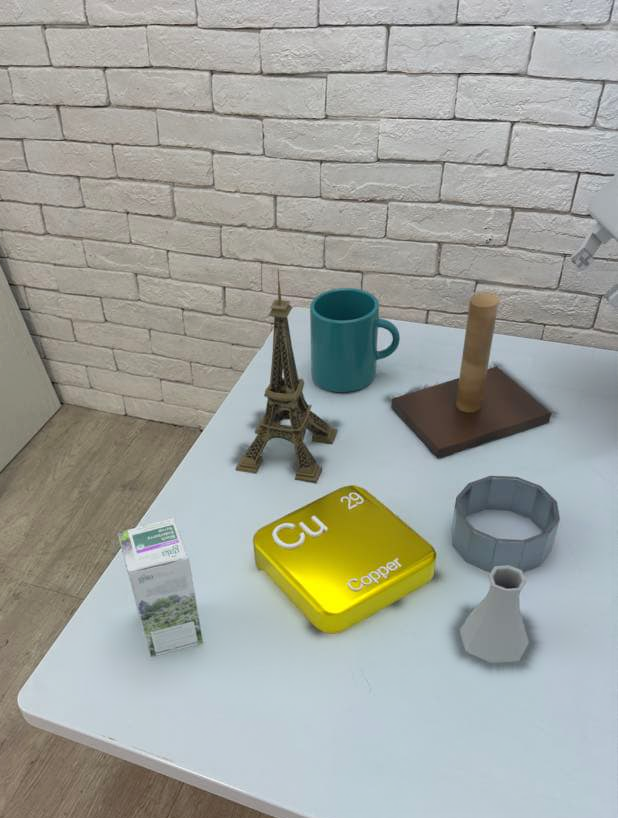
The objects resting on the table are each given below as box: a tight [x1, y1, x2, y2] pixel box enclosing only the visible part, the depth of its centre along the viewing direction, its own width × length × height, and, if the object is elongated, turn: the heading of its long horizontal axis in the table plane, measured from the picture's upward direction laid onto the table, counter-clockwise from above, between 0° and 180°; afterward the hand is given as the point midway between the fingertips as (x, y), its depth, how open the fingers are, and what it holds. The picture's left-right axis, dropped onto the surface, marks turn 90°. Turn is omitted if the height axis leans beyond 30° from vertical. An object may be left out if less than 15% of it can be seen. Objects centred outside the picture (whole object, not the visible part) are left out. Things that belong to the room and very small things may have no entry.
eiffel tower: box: [235, 268, 338, 484], centre depth 95 cm, size 11×11×25 cm
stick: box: [456, 292, 499, 412], centre depth 99 cm, size 3×3×15 cm
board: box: [390, 365, 552, 459], centre depth 104 cm, size 16×12×2 cm
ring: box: [450, 475, 561, 574], centre depth 86 cm, size 10×10×6 cm
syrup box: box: [117, 517, 204, 657], centre depth 79 cm, size 6×6×14 cm
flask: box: [459, 565, 530, 664], centre depth 76 cm, size 7×7×10 cm
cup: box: [309, 287, 401, 393], centre depth 110 cm, size 9×12×11 cm
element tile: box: [252, 484, 437, 635], centre depth 86 cm, size 15×15×5 cm
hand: (591, 283), depth 91 cm, fingers open, 8 cm apart
